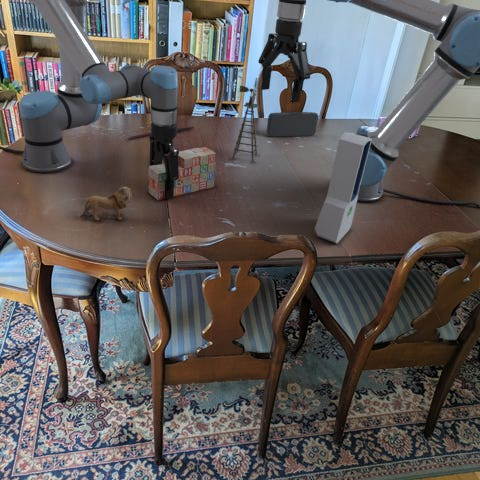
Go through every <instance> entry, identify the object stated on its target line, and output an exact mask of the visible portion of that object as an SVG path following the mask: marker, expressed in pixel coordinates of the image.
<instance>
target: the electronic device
mask: <svg viewBox="0 0 480 480" xmlns="http://www.w3.org/2000/svg"><path fill="white" fill-rule="evenodd" d="M371 141H372V139H371V138H368V137H364V136H360V135H357V134H356V133H353V132H349V131H345V132H343V133H342V135H341V136H340V137H339V139H338V144H337V148H336V153H335V157H334V160H333V161H334V162H333V166H332V170H331V171H332V172H331V175H330V180H329V184H328V190H327V194H326V198H325V200H324V202H323V205H322V208H321V210H320V212H319V215H318V218H317V221H316V223H315V226H314V231H315V233H316V236H317V237H318V238H321V239H323V240H325V241H328V242H331V243H334V244H336V245H337V244H338V243H339V242H340V241H341V240H342V239H343V237H344V236H345V235H346V234H347V233H348V232H349V230H350V229H351V227H352V225H353V219H354V216H355V212H356V208H357V203H358V201H357V199H358V192H359V188H360V184H361V180H362V176H363V172H364V169H365V165H366V161H367V157H368V153H369V149H370V145H371Z"/></svg>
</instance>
